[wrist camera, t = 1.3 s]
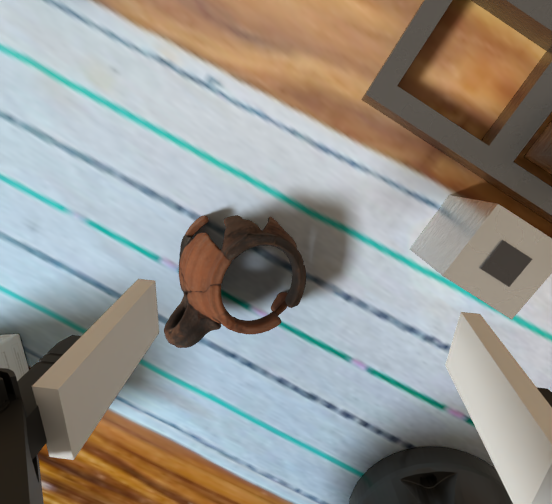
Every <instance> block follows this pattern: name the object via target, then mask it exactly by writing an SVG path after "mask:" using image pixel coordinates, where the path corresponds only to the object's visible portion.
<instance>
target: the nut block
mask: <svg viewBox="0 0 552 504" xmlns="http://www.w3.org/2000/svg"><path fill="white" fill-rule="evenodd" d="M410 250H411V251H412V252H414V253H415V254H416V255H417V256H419V257H420V258H421V259H422V260H424V261H425V262H426V263H427V264H429V265H430V266H431V267H432V268H434V269H435V270H436V271H437V272H439V273H440V274H441V275H442V276H444V277H446V278H447V279H449V280H450V281H452V282H453V283H455V284H457V285H458V286H460V287H461V288H463V289H464V290H466V291H468V292H469V293H471V294H472V295H474V296H476V297H477V298H479V299H480V300H482V301H483V302H485V303H487V304H488V305H490V306H491V307H493V308H494V309H496V310H498V311H499V312H501V313H502V314H504V315H505V316H507V317H509V318H510V319H513V317H514V316H515V315H516V314H517V313H518V312H519V310H520V309H521V308H522V307H523V306H524V305H525V303H526V302H527V301H528V300H529V299H530V298H531V297H532V295H533V294H534V293H535V292H536V291H537V290H538V288H539V287H540V286H541V285H542V284H543V283H544V281H545V280H546V279H547V278H548V277H549V276H550V274H551V273H552V238H550V237H549V236H547V235H546V234H544V233H543V232H541V231H539V230H538V229H536V228H535V227H533V226H532V225H530V224H529V223H527V222H526V221H524V220H522V219H521V218H519V217H518V216H516V215H515V214H513V213H512V212H510V211H509V210H507V209H506V208H504V207H502V206H501V205H499V204H497V203H491V202H485V201H480V200H474V199H469V198H463V197H457V196H452V195H449V196H448V197H447V199H446V200H445V202H444V203H443V204H442V206H441V207H440V208H439V210H438V211H437V212H436V214H435V215H434V216H433V218H432V219H431V220H430V222H429V223H428V225H427V226H426V227H425V229H424V230H423V231H422V233H421V234H420V235H419V237H418V238H417V239H416V241H415V242H414V244H413V245H412V246H411V248H410Z"/></svg>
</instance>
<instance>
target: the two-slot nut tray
mask: <svg viewBox="0 0 552 504" xmlns="http://www.w3.org/2000/svg"><path fill="white" fill-rule="evenodd" d="M472 1H473V2H475V3H476V4H478V5H479V6H481V7H482V8H484V9H485V10H487V11H488V12H490V13H491V14H493V15H494V16H496V17H497V18H499V19H500V20H502V21H503V22H505V23H506V24H508V25H509V26H511V27H512V28H514V29H515V30H517V31H518V32H520V33H521V34H522V35H524V36H525V37H527V38H528V39H530V40H531V41H533V42H534V43H536V44H537V45H539V46H540V47H542V48H543V49H545V50H546V51H547V52H546V53H545V54H544V56H543V57H542V59H541V60H540V61H539V63H538V64H537V65H536V67H535V68H534V69H533V71H532V72H531V74H530V75H529V76H528V78H527V79H526V80H525V82H524V83H523V85H522V86H521V87H520V89H519V90H518V91H517V93H516V94H515V95H514V97H513V98H512V100H511V101H510V102H509V104H508V105H507V106H506V108H505V109H504V110H503V112H502V113H501V115H500V116H499V117H498V119H497V120H496V121H495V123H494V124H493V125H492V127H491V128H490V130H489V131H488V132H487V134H486V135H485V136H484V138H483V139H482V140H479V139H478V138H476V137H475V136H473V135H471V134H470V133H468V132H467V131H465V130H464V129H462V128H461V127H459V126H458V125H456V124H455V123H453V122H452V121H450V120H449V119H447V118H445V117H444V116H442V115H441V114H439V113H438V112H436V111H435V110H433V109H432V108H430V107H429V106H427V105H426V104H424V103H423V102H421V101H420V100H418V99H416V98H415V97H413V96H412V95H410V94H409V93H407V92H406V91H404V90H403V89H401V88H400V87H398V86H397V85H398V84H399V82H400V81H401V79H402V78H403V76H404V74H405V73H406V71H407V70H408V68H409V67H410V65H411V64H412V62H413V61H414V59H415V57H416V56H417V54H418V53H419V51H420V50H421V48H422V47H423V45H424V44H425V42H426V40H427V39H428V37H429V36H430V34H431V33H432V31H433V30H434V28H435V27H436V25H437V23H438V22H439V20H440V19H441V17H442V16H443V14H444V13H445V11H446V10H447V8H448V6H449V5H450V3H451V2H452V0H424V1H423V3H422V4H421V6H420V8H419V9H418V11H417V12H416V14H415V16H414V17H413V19H412V20H411V22H410V24H409V25H408V27H407V28H406V30H405V31H404V33H403V35H402V36H401V38H400V39H399V41H398V43H397V44H396V46H395V47H394V49H393V51H392V52H391V54H390V55H389V57H388V58H387V60H386V62H385V63H384V65H383V66H382V68H381V70H380V71H379V73H378V74H377V76H376V78H375V79H374V81H373V82H372V84H371V85H370V87H369V89H368V90H367V92H366V93H365V95H364V97H363V98H362V100H363V101H364V102H366V103H368V104H369V105H371V106H372V107H374V108H375V109H377V110H378V111H380V112H381V113H383V114H384V115H386V116H388V117H389V118H391V119H392V120H394V121H395V122H397V123H398V124H400V125H401V126H403V127H404V128H406V129H408V130H409V131H411V132H412V133H414V134H415V135H417V136H418V137H420V138H421V139H423V140H424V141H426V142H428V143H429V144H431V145H432V146H434V147H435V148H437V149H438V150H440V151H441V152H443V153H444V154H446V155H448V156H449V157H451V158H452V159H454V160H455V161H457V162H458V163H460V164H461V165H463V166H464V167H466V168H468V169H469V170H471V171H472V172H474V173H475V174H477V175H478V176H480V177H481V178H483V179H484V180H486V181H488V182H489V183H491V184H492V185H494V186H495V187H497V188H498V189H500V190H501V191H503V192H504V193H506V194H508V195H509V196H511V197H512V198H514V199H515V200H517V201H518V202H520V203H521V204H523V205H524V206H526V207H528V208H529V209H531V210H532V211H534V212H535V213H537V214H538V215H540V216H541V217H543V218H544V219H546V220H548V221H549V222H551V223H552V187H551V186H549V185H548V184H546V183H545V182H543V181H542V180H540V179H539V178H537V177H536V176H534V175H533V174H531V173H529V172H528V171H526V170H525V169H523V168H522V167H520V166H519V165H517V164H516V163H514V162H513V161H514V160H515V159H516V157H517V156H518V155H519V154H520V152H521V151H522V150H523V148H524V147H525V146H526V144H527V143H528V142H529V141H530V139H531V138H532V137H533V135H534V134H535V133H536V131H537V130H538V129H539V127H540V126H541V125H542V124H543V122H544V121H545V120H546V118H547V117H548V116H549V114H550V113H551V112H552V0H472Z"/></svg>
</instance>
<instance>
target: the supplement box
mask: <svg viewBox="0 0 552 504" xmlns="http://www.w3.org/2000/svg"><path fill="white" fill-rule="evenodd" d="M0 368H7V369H10V370H12V371H14V373H15V375H16V378H17V381H18V380H19V379H20V378H21V377H22V376H23V375H24V374H25V373H27V372H28V371H29V368H28V364H27V361H26V357H25V354H24V350H23V346H22V343H21V339H20V336H19V334H6V335H0Z"/></svg>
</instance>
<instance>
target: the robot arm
mask: <svg viewBox="0 0 552 504" xmlns="http://www.w3.org/2000/svg"><path fill="white" fill-rule="evenodd" d="M158 334H159V325H158V311H157V298H156V284H155V281H154V280H144V279H138V280H137V281H136V282H135V283H134V284H133V285H132V286H131V287H130V288H129V289H128V290H127V291H126V292H125V293H124V294H123V295H122V296H121V297H120V298H119V299H118V300H117V301H116V302H115V303H114V304H113V305H112V306H111V307H110V308H109V309H108V310H107V311H106V312H105V313H104V314H103V315H102V316H101V317H100V318H99V319H98V320H97V321H96V322H95V323H94V324H93V325H92V326H91V327H90V328H89V329H88V330H87V331H86V332H85V333H84V334H83V335H82V336H75V335H72V336H70V337H68V338H66V339H64V340H62V341H61V342H59V343H57V344H56V345H55V346H54V347H53V348H52V349H51V350H50V351H49V352H48V354H47V355H45V356H44V357H43V358H41V359H40V360H39V363H36V364H35V365H34V366H33V367H32V368H31V369H30V370H29V371H28V372H27V373H25V374H24V375H23V376H22V377H21V378H20V379H19V380H18V381H17V378H16V375H15V373H14V371H12V370H10V369H7V368H0V504H43V495H42V486H41V477H40V467H39V460H38V456H37V454H38V453H39V451H40V450H41V449H42V447H43V446H44V445H45V444H47V448H48V452H49V456H50V457H56V458H63V459H71V460H74V458H75V457H76V455H77V454H78V452H79V451H80V450H81V448H82V447H83V445H84V444H85V442H86V441H87V439H88V438H89V436H90V435H91V433H92V432H93V430H94V429H95V427H96V426H97V424H98V423H99V421H100V420H101V418H102V417H103V415H104V414H105V412H106V411H107V409H108V408H109V406H110V405H111V404H112V402H113V401H114V399H115V398H116V396H117V395H118V393H119V392H120V390H121V389H122V387H123V386H124V384H125V383H126V381H127V380H128V378H129V377H130V375H131V374H132V372H133V371H134V369H135V368H136V366H137V365H138V363H139V362H140V360H141V359H142V358H143V356H144V355H145V353H146V352H147V350H148V349H149V347H150V346H151V344H152V343H153V341H154V340H155V338H156V337H157V335H158ZM445 366H446V368H447V370H448V372H449V374H450V376H451V378H452V380H453V382H454V384H455V386H456V388H457V390H458V392H459V394H460V396H461V398H462V401H463V403H464V405H465V407H466V409H467V411H468V413H469V415H470V417H471V419H472V421H473V423H474V425H475V427H476V429H477V431H478V433H479V435H480V437H481V439H482V441H483V443H484V446H485V448H486V450H487V452H488V454H489V456H490V458H491V460H492V462H493V464H494V466H495V468H496V470H497V471H496V470H495V469H494V468H493V467H492V466H490V465H489V464H487V463H486V462H484V461H483V460H481V459H479V458H477V457H475V456H473V455H471V454H468V453H465V452H462V451H458V450H454V449H449V448H442V447H422V448H414V449H409V450H405V451H401V452H398V453H396V454H393V455H391V456H389V457H387V458H385V459H383V460H381V461H379V462H378V463H376V464H375V465H374V466H372V467H371V468H370V469H369V470H368V471H367V472H366V473H365V474H364V475H363V476H362V477H361V479H360V480H359V481H358V483H357V484H356V486H355V488H354V490H353V492H352V494H351V497H350V501H349V504H552V392H551V391H549V390H548V389H545V388H536V386H535V385H534V384H533V382H532V381H531V380H530V379H529V377H528V376H527V375H526V373H525V372H524V371H523V369H522V368H521V367H520V366H519V364H518V363H517V362H516V360H515V359H514V358H513V356H512V355H511V354H510V352H509V351H508V350H507V349H506V347H505V346H504V345H503V343H502V342H501V341H500V339H499V338H498V337H497V336H496V334H495V333H494V332H493V330H492V329H491V328H490V326H489V325H488V324H487V323H486V321H485V320H484V319H483V317H482V316H481V315H480V314H475V313H465V312H461V314H460V317H459V320H458V324H457V327H456V330H455V334H454V337H453V341H452V344H451V347H450V351H449V354H448V357H447V361H446V364H445Z"/></svg>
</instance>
